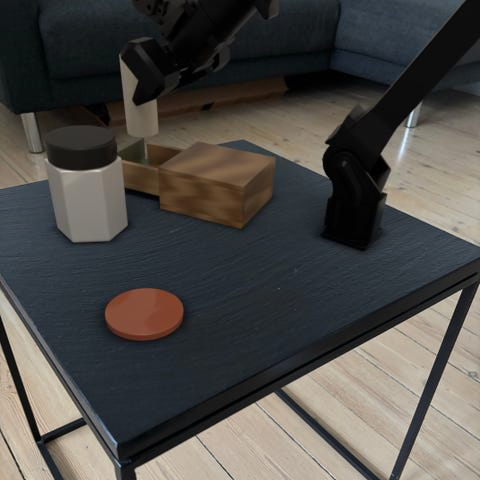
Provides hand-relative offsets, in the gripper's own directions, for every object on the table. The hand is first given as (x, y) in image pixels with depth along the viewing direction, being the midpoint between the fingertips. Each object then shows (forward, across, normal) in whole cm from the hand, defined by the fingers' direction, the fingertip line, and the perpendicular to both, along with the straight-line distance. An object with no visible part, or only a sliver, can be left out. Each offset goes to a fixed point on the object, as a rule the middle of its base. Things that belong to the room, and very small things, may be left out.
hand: (144, 98), depth 70 cm
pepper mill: (+4, 0, +3) cm, 5 cm away
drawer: (+9, -1, +8) cm, 12 cm away
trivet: (-2, +27, +21) cm, 34 cm away
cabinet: (+1, -1, +17) cm, 17 cm away
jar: (+9, +14, +9) cm, 19 cm away
